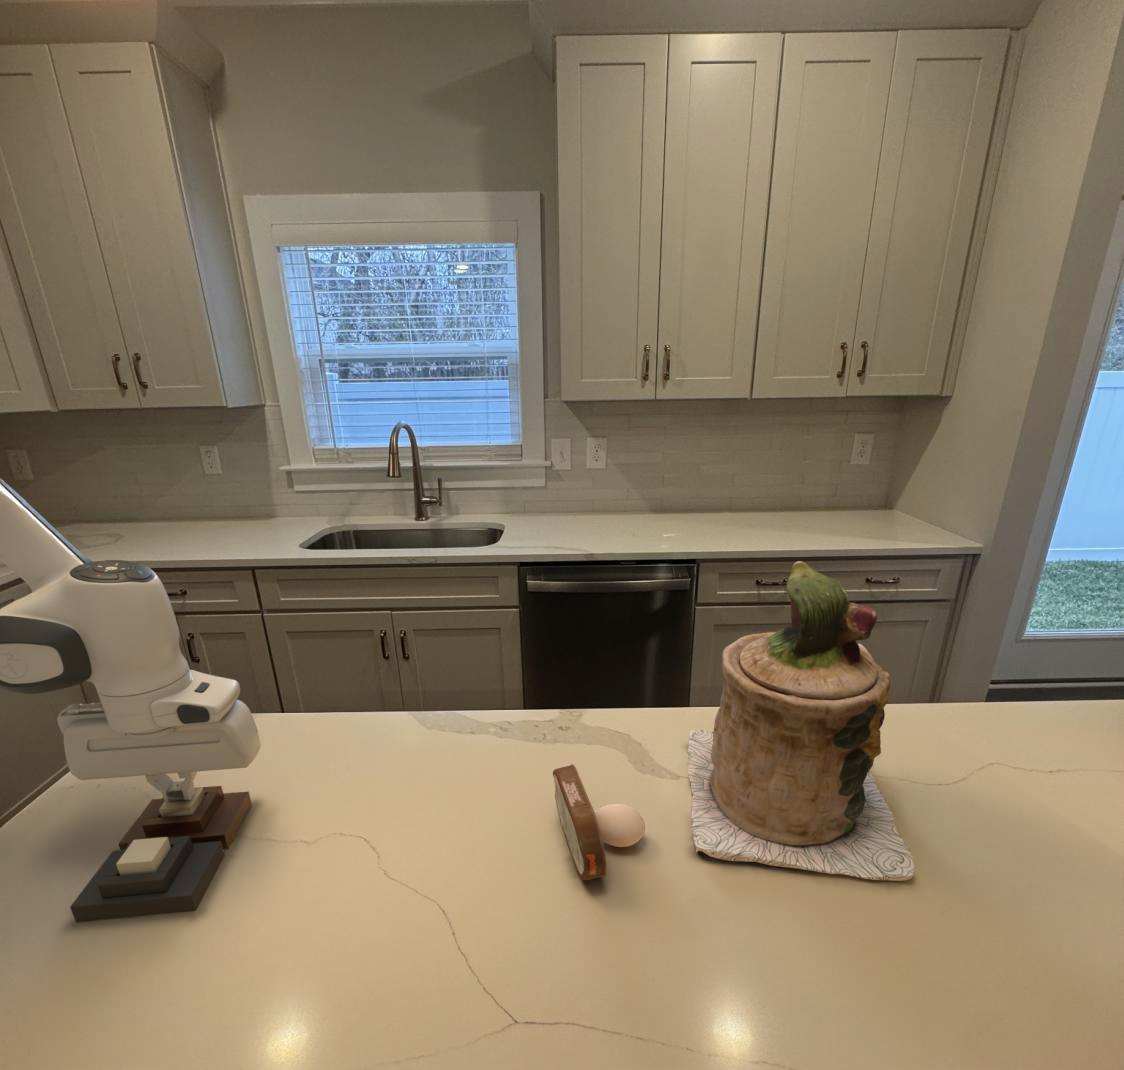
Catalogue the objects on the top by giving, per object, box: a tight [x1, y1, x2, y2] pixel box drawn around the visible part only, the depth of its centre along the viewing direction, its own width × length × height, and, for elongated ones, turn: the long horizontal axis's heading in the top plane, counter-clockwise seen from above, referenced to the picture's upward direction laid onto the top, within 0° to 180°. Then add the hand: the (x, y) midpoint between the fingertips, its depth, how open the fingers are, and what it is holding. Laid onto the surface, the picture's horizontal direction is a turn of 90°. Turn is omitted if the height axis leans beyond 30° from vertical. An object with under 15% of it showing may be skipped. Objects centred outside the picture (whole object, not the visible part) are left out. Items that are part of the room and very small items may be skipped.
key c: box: [116, 837, 171, 876], centre depth 67 cm, size 4×4×2 cm
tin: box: [552, 763, 607, 881], centre depth 72 cm, size 15×3×8 cm, turn 13°
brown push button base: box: [117, 785, 253, 850], centre depth 76 cm, size 12×8×4 cm, turn 96°
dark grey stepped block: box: [69, 836, 226, 923], centre depth 68 cm, size 12×8×4 cm, turn 96°
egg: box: [594, 803, 646, 848], centre depth 74 cm, size 5×5×7 cm
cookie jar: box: [686, 560, 916, 882], centre depth 74 cm, size 25×25×32 cm
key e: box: [159, 787, 205, 817], centre depth 76 cm, size 4×4×2 cm
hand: (180, 797), depth 75 cm, fingers closed, pressing on key e
